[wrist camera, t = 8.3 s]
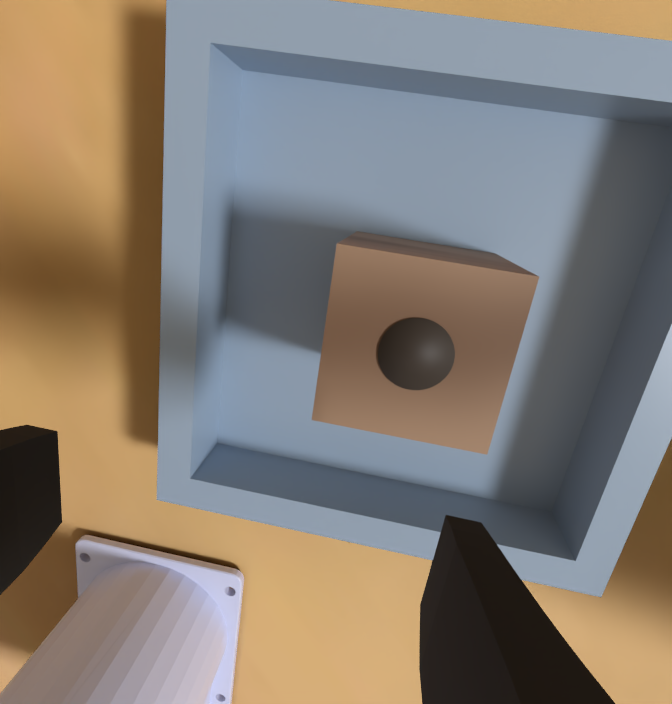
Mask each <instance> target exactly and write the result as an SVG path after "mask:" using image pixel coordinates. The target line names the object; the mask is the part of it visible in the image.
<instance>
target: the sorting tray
mask: <svg viewBox="0 0 672 704" xmlns="http://www.w3.org/2000/svg"><path fill="white" fill-rule="evenodd" d="M357 231H359V232H365V233H372V234H378V235H384V236H390V237H397V238H403V239H409V240H415V241H421V242H428V243H434V244H440V245H446V246H453V247H459V248H465V249H471V250H477V251H484V252H490V253H495V254H497V255H499V256H501V257H503V258H505V259H507V260H509V261H511V262H512V263H514V264H516V265H518V266H520V267H522V268H524V269H526V270H528V271H530V272H532V273H533V274H535V275H537V276H539V280H538V284H537V287H536V290H535V294H534V297H533V301H532V304H531V307H530V311H529V314H528V318H527V321H526V324H525V328H524V331H523V335H522V338H521V341H520V345H519V348H518V352H517V355H516V358H515V362H514V365H513V369H512V372H511V375H510V379H509V382H508V386H507V389H506V392H505V396H504V399H503V403H502V406H501V409H500V413H499V416H498V420H497V423H496V427H495V430H494V433H493V437H492V440H491V444H490V447H489V450H488V454H487V455H486V454H481V453H476V452H471V451H466V450H461V449H456V448H451V447H446V446H440V445H435V444H430V443H425V442H420V441H415V440H410V439H405V438H400V437H395V436H390V435H385V434H380V433H375V432H370V431H364V430H359V429H354V428H349V427H344V426H339V425H334V424H329V423H324V422H319V421H314V420H312V413H313V406H314V399H315V392H316V385H317V378H318V371H319V364H320V357H321V350H322V343H323V336H324V329H325V322H326V315H327V308H328V301H329V294H330V287H331V280H332V273H333V266H334V259H335V252H336V245H337V243H338V242H340V241H342V240H343V239H345V238H347V237H348V236H350V235H352V234H353V233H355V232H357ZM671 438H672V41H667V40H658V39H650V38H642V37H633V36H625V35H616V34H608V33H600V32H591V31H583V30H574V29H566V28H558V27H549V26H541V25H532V24H524V23H516V22H507V21H499V20H490V19H482V18H474V17H465V16H457V15H448V14H440V13H432V12H423V11H415V10H406V9H398V8H389V7H381V6H373V5H364V4H356V3H347V2H339V1H331V0H167V3H166V55H165V107H164V158H163V210H162V262H161V313H160V365H159V417H158V468H157V500H160V501H164V502H169V503H173V504H178V505H183V506H187V507H192V508H196V509H201V510H205V511H210V512H214V513H219V514H224V515H228V516H233V517H237V518H242V519H246V520H251V521H256V522H260V523H265V524H269V525H274V526H278V527H283V528H288V529H292V530H297V531H301V532H306V533H310V534H315V535H319V536H324V537H329V538H333V539H338V540H342V541H347V542H351V543H356V544H361V545H365V546H370V547H374V548H379V549H383V550H388V551H392V552H397V553H402V554H406V555H411V556H415V557H420V558H424V559H429V560H433V558H434V555H435V551H436V548H437V544H438V540H439V537H440V533H441V530H442V526H443V523H444V519H445V515H449V516H454V517H459V518H463V519H468V520H473V521H477V522H481V523H482V524H483V525H484V527H485V528H486V530H487V531H488V532H489V534H490V535H491V537H492V538H493V540H494V541H495V543H496V544H497V546H498V547H499V548H500V550H501V551H502V553H503V554H504V556H505V557H506V559H507V560H508V562H509V563H510V564H511V566H512V567H513V569H514V570H515V572H516V573H517V575H518V576H519V577H520V579H521V580H525V581H529V582H534V583H539V584H543V585H548V586H552V587H557V588H561V589H566V590H570V591H575V592H580V593H584V594H589V595H593V596H598V597H602V594H603V592H604V590H605V588H606V585H607V583H608V581H609V579H610V576H611V574H612V572H613V569H614V567H615V565H616V563H617V560H618V558H619V556H620V554H621V551H622V549H623V547H624V545H625V542H626V540H627V538H628V536H629V533H630V531H631V529H632V526H633V524H634V522H635V520H636V517H637V515H638V513H639V511H640V508H641V506H642V504H643V502H644V499H645V497H646V495H647V493H648V490H649V488H650V486H651V484H652V481H653V479H654V477H655V474H656V472H657V470H658V468H659V465H660V463H661V461H662V459H663V456H664V454H665V452H666V450H667V447H668V445H669V443H670V441H671Z"/></svg>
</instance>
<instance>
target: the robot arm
mask: <svg viewBox="0 0 672 704" xmlns="http://www.w3.org/2000/svg"><path fill="white" fill-rule="evenodd" d="M61 523H62V513H61V493H60V474H59V454H58V434H57V431H53V430H49V429H44V428H39V427H35V426H30V425H24V426H19V427H13V428H9V429H4V430H0V595H1V594H2V593H3V592H4V590H5V589H6V588H7V587H8V586H9V585H10V584H11V583H12V582H13V581H14V580H15V579H16V578H17V577H18V576H19V575H20V574H21V573H22V572H23V571H24V569H25V568H26V567H27V566H28V565H29V563H30V562H31V561H32V560H33V559H34V557H35V556H36V555H37V554H38V552H39V551H40V550H41V549H42V547H43V546H44V545H45V544H46V542H47V541H48V540H49V538H50V537H51V536H52V534H53V533H54V532H55V530H56V529H57V528H58V526H59V525H60V524H61ZM75 549H76V568H77V587H78V599H77V601H76V602H75V603H74V604H73V605H72V607H71V608H70V609H69V610H68V612H67V613H66V614H65V615H64V616H63V618H62V619H61V620H60V621H59V623H58V624H57V625H56V626H55V627H54V629H53V630H52V631H51V632H50V634H49V635H48V636H47V637H46V638H45V640H44V641H43V642H42V643H41V644H40V646H39V647H38V648H37V649H36V651H35V652H34V653H33V654H32V655H31V657H30V658H29V659H28V660H27V662H26V663H25V664H24V665H23V666H22V668H21V669H20V670H19V671H18V673H17V674H16V675H15V676H14V677H13V679H12V680H11V681H10V682H9V684H8V685H7V686H6V687H5V688H4V690H3V691H2V692H1V693H0V704H231V703H232V693H233V683H234V673H235V663H236V654H237V644H238V634H239V624H240V615H241V605H242V595H243V585H244V576H243V574H242V573H241V572H240V571H239V570H237V569H235V568H231V567H226V566H222V565H217V564H213V563H209V562H204V561H200V560H196V559H191V558H187V557H182V556H178V555H174V554H169V553H165V552H161V551H156V550H152V549H147V548H143V547H139V546H134V545H130V544H126V543H121V542H117V541H113V540H108V539H104V538H99V537H95V536H91V535H84V536H82V537H81V538H80V539H79V540H78V541H77V542H76V545H75ZM230 587H232V588H233V589H232V588H230ZM420 680H421V692H422V703H423V704H615V703H614V701H613V700H612V699H611V698H610V696H609V695H608V694H607V693H606V691H605V690H604V689H603V688H602V687H601V685H600V684H599V683H598V682H597V680H596V679H595V678H594V677H593V675H592V674H591V673H590V672H589V670H588V669H587V668H586V667H585V665H584V664H583V663H582V661H581V660H580V659H579V658H578V656H577V655H576V654H575V652H574V651H573V650H572V649H571V647H570V646H569V645H568V643H567V642H566V641H565V639H564V638H563V637H562V635H561V634H560V633H559V631H558V630H557V629H556V627H555V626H554V625H553V623H552V622H551V621H550V619H549V618H548V616H547V615H546V614H545V612H544V611H543V610H542V608H541V607H540V606H539V604H538V603H537V601H536V600H535V599H534V597H533V596H532V594H531V593H530V592H529V590H528V589H527V587H526V586H525V585H524V583H523V582H522V580H521V579H520V577H519V576H518V575H517V573H516V572H515V570H514V569H513V567H512V566H511V564H510V563H509V562H508V560H507V559H506V557H505V556H504V554H503V553H502V551H501V550H500V548H499V547H498V546H497V544H496V543H495V541H494V540H493V538H492V537H491V535H490V534H489V532H488V531H487V530H486V528H485V527H484V525H483V524H482V523H481V522H477V521H473V520H468V519H463V518H459V517H454V516H449V515H445V519H444V523H443V526H442V530H441V533H440V537H439V540H438V544H437V548H436V551H435V555H434V558H433V562H432V565H431V569H430V573H429V576H428V580H427V583H426V587H425V590H424V594H423V597H422V601H421V605H420Z"/></svg>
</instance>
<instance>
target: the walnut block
mask: <svg viewBox="0 0 672 704" xmlns="http://www.w3.org/2000/svg"><path fill="white" fill-rule="evenodd" d="M538 280H539V276H537V275H535V274H533V273H532V272H530V271H528V270H526V269H524V268H522V267H520V266H518V265H516V264H514V263H512V262H511V261H509V260H507V259H505V258H503V257H501V256H499V255H497V254H495V253H490V252H484V251H477V250H471V249H465V248H459V247H453V246H446V245H440V244H434V243H428V242H421V241H415V240H409V239H403V238H397V237H390V236H384V235H378V234H372V233H365V232H359V231H357V232H355V233H353V234H352V235H350V236H348V237H347V238H345V239H343V240H342V241H340V242H338V243H337V245H336V252H335V259H334V266H333V273H332V280H331V287H330V294H329V301H328V308H327V315H326V322H325V329H324V336H323V343H322V350H321V357H320V364H319V371H318V378H317V385H316V392H315V399H314V406H313V413H312V420H314V421H319V422H324V423H329V424H334V425H339V426H344V427H349V428H354V429H359V430H364V431H370V432H375V433H380V434H385V435H390V436H395V437H400V438H405V439H410V440H415V441H420V442H425V443H430V444H435V445H440V446H446V447H451V448H456V449H461V450H466V451H471V452H476V453H481V454H486V455H487V454H488V450H489V447H490V444H491V440H492V437H493V433H494V430H495V427H496V423H497V420H498V416H499V413H500V409H501V406H502V403H503V399H504V396H505V392H506V389H507V386H508V382H509V379H510V375H511V372H512V369H513V365H514V362H515V358H516V355H517V352H518V348H519V345H520V341H521V338H522V335H523V331H524V328H525V324H526V321H527V318H528V314H529V311H530V307H531V304H532V301H533V297H534V294H535V290H536V287H537V284H538Z"/></svg>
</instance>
